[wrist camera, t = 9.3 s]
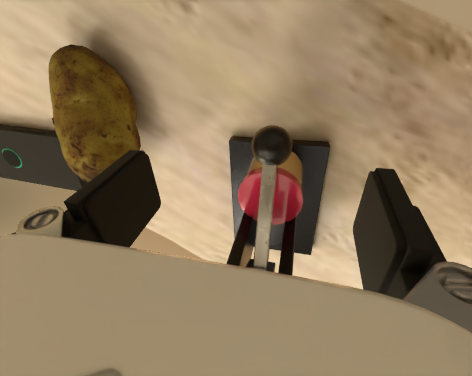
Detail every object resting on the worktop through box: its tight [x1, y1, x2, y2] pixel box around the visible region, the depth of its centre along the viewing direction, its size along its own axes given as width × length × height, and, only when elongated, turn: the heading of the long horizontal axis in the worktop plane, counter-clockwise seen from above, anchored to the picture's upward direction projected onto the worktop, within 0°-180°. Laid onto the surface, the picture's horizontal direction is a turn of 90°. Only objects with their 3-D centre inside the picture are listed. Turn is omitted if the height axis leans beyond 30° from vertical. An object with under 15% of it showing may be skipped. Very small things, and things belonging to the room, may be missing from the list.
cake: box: [238, 152, 303, 225], centre depth 25 cm, size 6×6×5 cm
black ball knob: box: [246, 125, 293, 272], centre depth 20 cm, size 14×3×3 cm
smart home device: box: [0, 124, 88, 191], centre depth 36 cm, size 8×2×20 cm
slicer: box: [227, 137, 330, 276], centre depth 25 cm, size 15×10×14 cm, turn 3°
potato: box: [49, 45, 141, 182], centre depth 26 cm, size 8×13×8 cm, turn 176°
